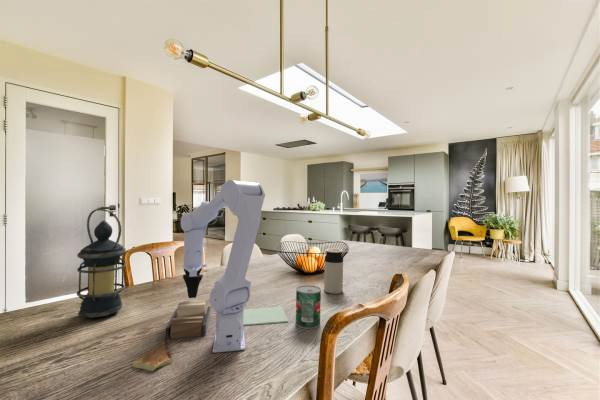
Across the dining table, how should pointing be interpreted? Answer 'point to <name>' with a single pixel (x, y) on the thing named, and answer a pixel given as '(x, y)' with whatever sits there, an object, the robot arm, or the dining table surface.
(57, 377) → the dining table surface
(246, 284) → the robot arm
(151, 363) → the shard
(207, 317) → the rack
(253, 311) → the rubber mat
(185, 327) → the offcut stack
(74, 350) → the dining table surface
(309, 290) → the canned tomato
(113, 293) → the lantern
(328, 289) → the travel mug
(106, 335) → the dining table surface
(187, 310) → the birch block
